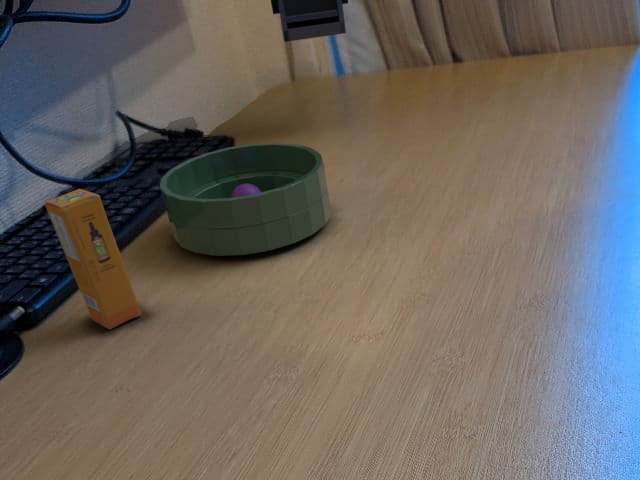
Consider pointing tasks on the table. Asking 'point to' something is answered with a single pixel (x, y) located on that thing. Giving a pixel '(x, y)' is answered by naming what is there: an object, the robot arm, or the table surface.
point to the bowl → (246, 198)
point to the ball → (245, 190)
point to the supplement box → (93, 257)
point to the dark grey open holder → (310, 18)
